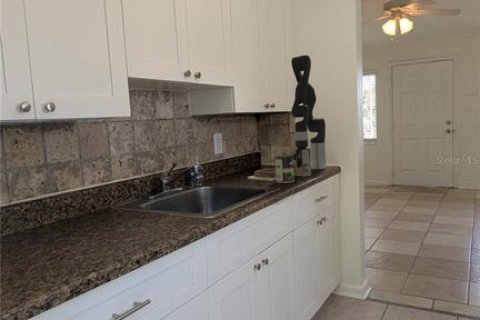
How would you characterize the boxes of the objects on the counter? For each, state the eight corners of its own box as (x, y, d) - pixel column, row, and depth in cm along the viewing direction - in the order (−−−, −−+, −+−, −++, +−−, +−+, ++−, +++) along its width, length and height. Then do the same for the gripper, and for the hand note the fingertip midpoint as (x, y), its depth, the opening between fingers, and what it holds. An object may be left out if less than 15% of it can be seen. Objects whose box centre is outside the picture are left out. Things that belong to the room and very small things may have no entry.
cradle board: (268, 174, 242) (268, 167, 242) (292, 175, 230) (291, 169, 229) (247, 179, 227) (247, 172, 227) (272, 181, 215) (271, 173, 215)
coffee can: (297, 180, 214) (296, 155, 213) (291, 183, 205) (290, 157, 204) (279, 179, 219) (278, 155, 217) (273, 182, 210) (272, 157, 208)
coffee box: (311, 175, 227) (310, 148, 225) (303, 177, 224) (302, 149, 222) (302, 174, 235) (301, 148, 233) (293, 175, 232) (292, 148, 230)
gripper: (302, 138, 235) (303, 164, 237) (289, 140, 224) (290, 167, 226) (313, 138, 230) (314, 165, 232) (300, 140, 219) (301, 168, 221)
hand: (302, 166), depth 229 cm, fingers closed on coffee box, 8 cm apart
